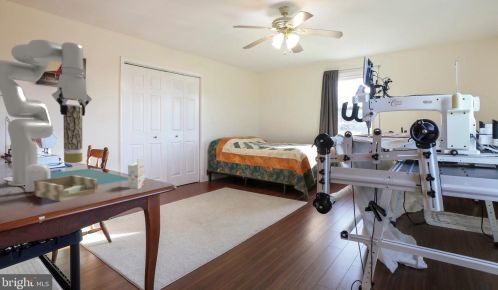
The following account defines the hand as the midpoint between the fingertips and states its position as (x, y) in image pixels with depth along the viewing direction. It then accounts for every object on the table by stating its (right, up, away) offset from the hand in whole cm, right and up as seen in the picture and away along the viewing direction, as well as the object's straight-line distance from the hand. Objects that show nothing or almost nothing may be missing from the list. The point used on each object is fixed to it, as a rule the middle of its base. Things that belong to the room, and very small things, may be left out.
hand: (73, 114), depth 113 cm
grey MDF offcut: (+5, -34, -5) cm, 35 cm away
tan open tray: (0, -35, -3) cm, 35 cm away
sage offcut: (+4, -32, -5) cm, 33 cm away
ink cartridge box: (+21, -34, +16) cm, 43 cm away
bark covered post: (-1, -21, +2) cm, 21 cm away
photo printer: (-16, -34, +1) cm, 38 cm away
